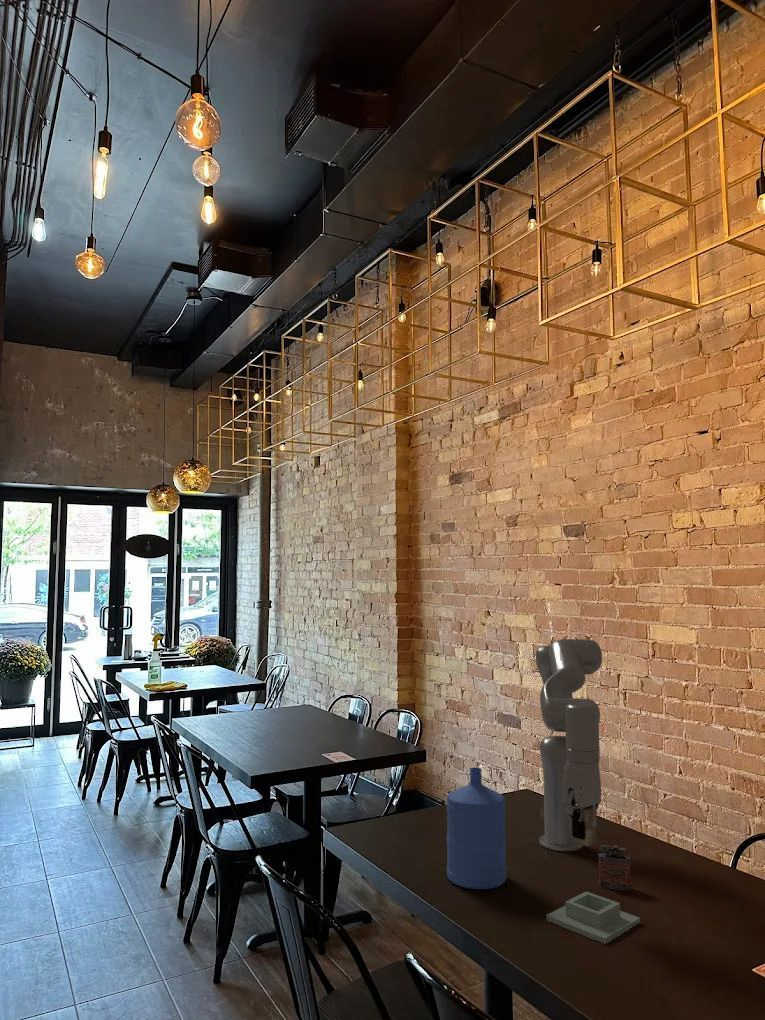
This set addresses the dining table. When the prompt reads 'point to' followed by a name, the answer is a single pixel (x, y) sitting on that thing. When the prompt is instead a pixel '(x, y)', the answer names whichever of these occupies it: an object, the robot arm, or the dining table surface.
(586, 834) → the birch peg
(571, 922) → the slot holder
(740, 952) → the dining table surface
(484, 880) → the water jug
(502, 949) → the dining table surface
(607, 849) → the lighter
